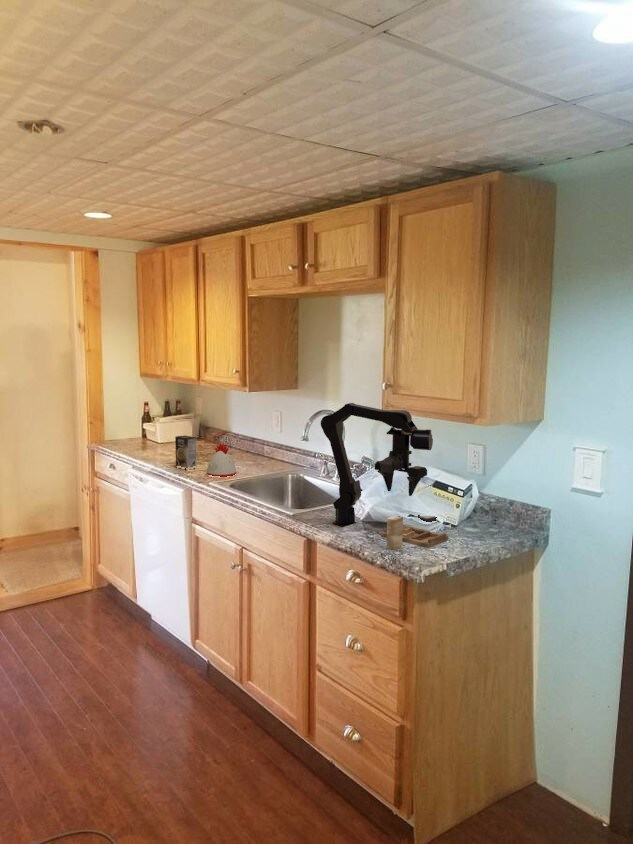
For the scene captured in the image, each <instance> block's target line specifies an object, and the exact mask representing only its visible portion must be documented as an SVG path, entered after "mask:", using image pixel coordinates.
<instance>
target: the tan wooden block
mask: <svg viewBox="0 0 633 844" xmlns="http://www.w3.org/2000/svg"><path fill="white" fill-rule="evenodd" d="M403 520H404V518H403V517H400V516H398V515H397V516H395V515H393V516H390V517H387V518H386V529H387V538H386V549H389V550H393V551H396V550H398V549H401V548H403V542H402V530H403V523H404V522H403Z"/></svg>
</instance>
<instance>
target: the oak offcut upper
mask: <svg viewBox="0 0 633 844" xmlns="http://www.w3.org/2000/svg"><path fill="white" fill-rule="evenodd" d="M411 531H412V526H408V527H407V525H404V526H403V530H402V533H403V534H407V533H409V532H411Z"/></svg>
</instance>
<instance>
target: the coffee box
mask: <svg viewBox="0 0 633 844" xmlns="http://www.w3.org/2000/svg"><path fill="white" fill-rule="evenodd" d="M174 442H175V467H176V466H181V467H186V468H188V467H193V466H197V436H192V435H191V436H190V435H186V434H185V435H178V436H177V435H176V436H175V440H174Z"/></svg>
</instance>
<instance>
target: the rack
mask: <svg viewBox="0 0 633 844" xmlns="http://www.w3.org/2000/svg"><path fill="white" fill-rule="evenodd" d="M403 526H405V525H403ZM406 526H407V525H406ZM407 527H409V526H407ZM411 527H412V526H411ZM412 531H414V532H415V535H414V536H411V537H409V538H407V537H403V536H402V543H407V544H410V545H414V546H417V547H422V548H426V549H430V548H432V547H435V546H436V545H440V544H441V543H444V542H446V541H449V535H447V533H445V532H443V533H437V532H434V531H429V530H426V529H425V530H424V529H421V528H417V527H412ZM380 537H383V538H386V539H387V528H386V529H384V530H383V531H381V532H380Z"/></svg>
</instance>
